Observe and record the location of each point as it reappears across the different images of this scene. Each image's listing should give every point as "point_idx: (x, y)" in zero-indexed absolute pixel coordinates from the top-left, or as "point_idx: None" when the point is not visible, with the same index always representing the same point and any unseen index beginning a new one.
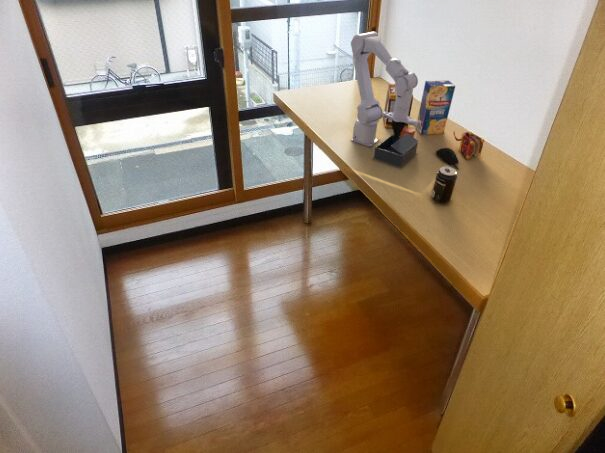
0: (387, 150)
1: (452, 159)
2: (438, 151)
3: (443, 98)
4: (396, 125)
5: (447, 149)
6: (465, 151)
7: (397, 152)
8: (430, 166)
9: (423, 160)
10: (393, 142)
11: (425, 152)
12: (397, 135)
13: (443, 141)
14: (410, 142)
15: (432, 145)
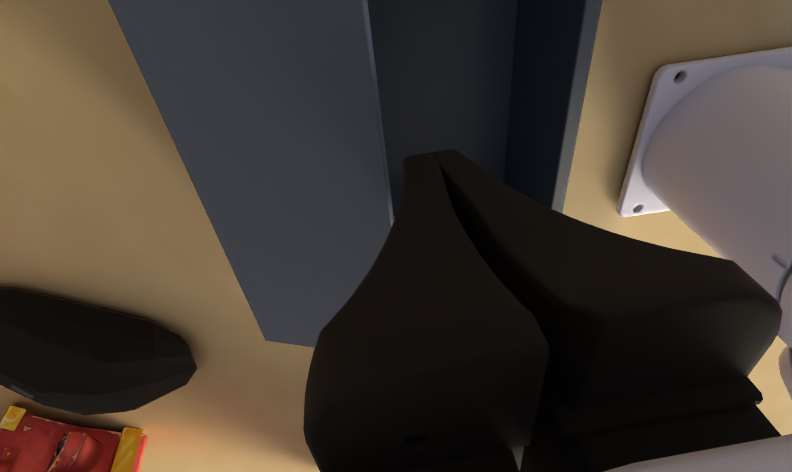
0: (486, 121)
1: None
2: (140, 353)
3: None
4: (539, 321)
5: (73, 400)
6: (59, 445)
7: (394, 155)
8: (24, 170)
9: (157, 211)
10: None
11: (248, 305)
12: (411, 185)
13: (276, 436)
14: (271, 261)
15: (285, 383)
